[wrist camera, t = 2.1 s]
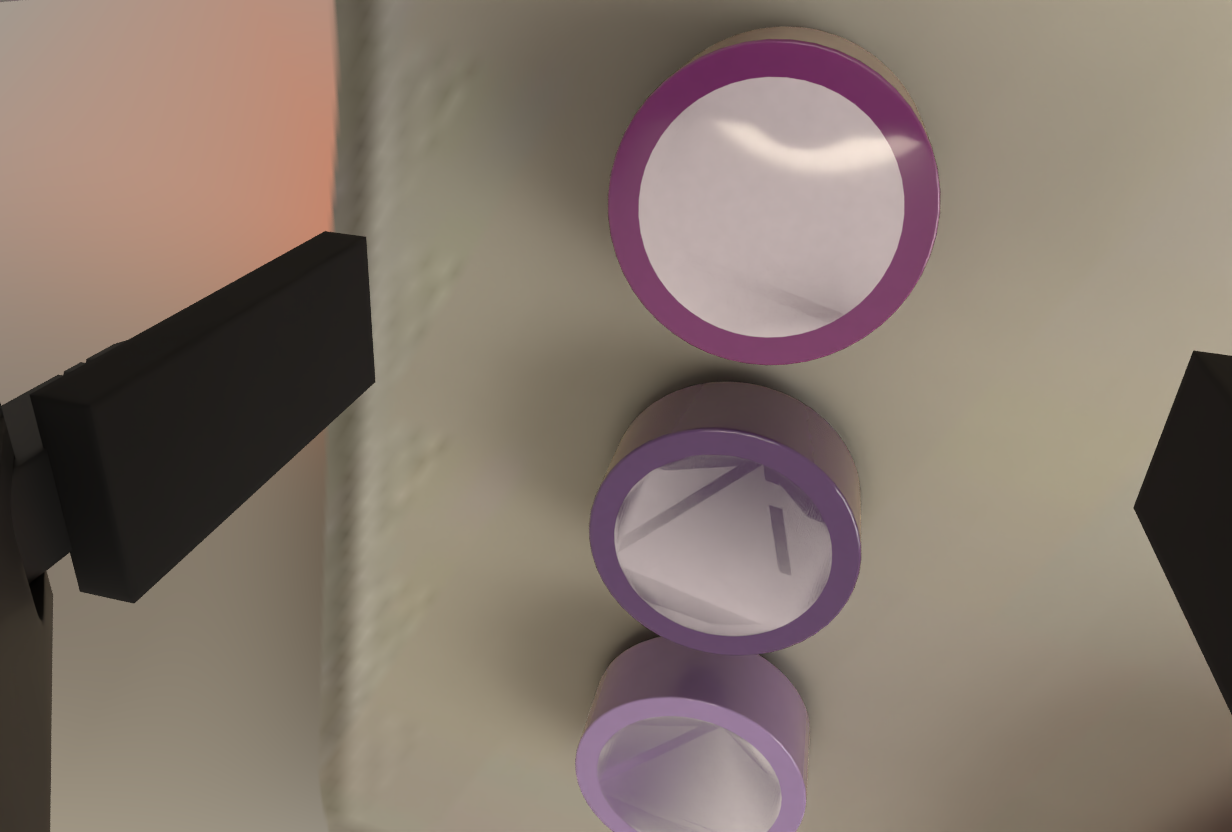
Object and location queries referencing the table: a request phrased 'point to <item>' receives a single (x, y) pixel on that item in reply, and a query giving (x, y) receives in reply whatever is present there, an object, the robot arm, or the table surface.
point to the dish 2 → (694, 743)
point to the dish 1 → (775, 197)
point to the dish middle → (729, 520)
